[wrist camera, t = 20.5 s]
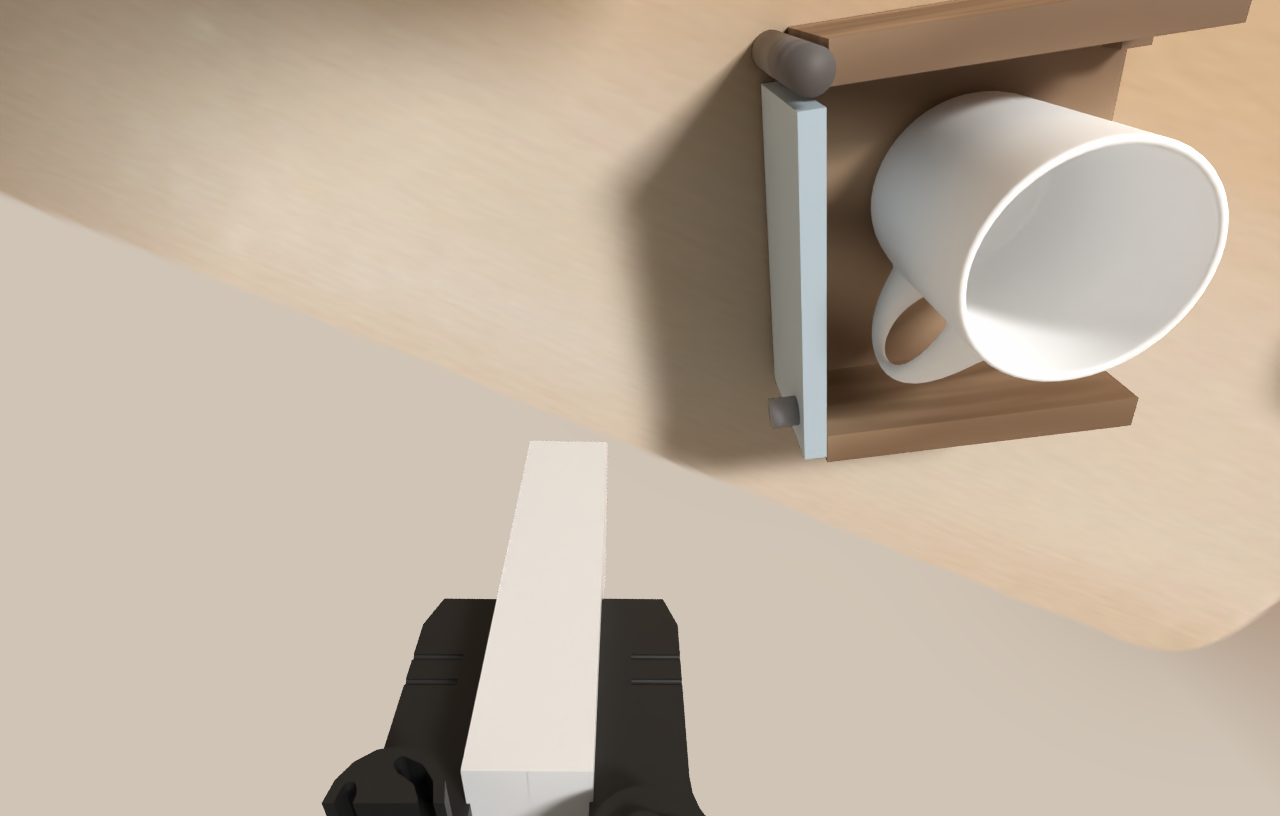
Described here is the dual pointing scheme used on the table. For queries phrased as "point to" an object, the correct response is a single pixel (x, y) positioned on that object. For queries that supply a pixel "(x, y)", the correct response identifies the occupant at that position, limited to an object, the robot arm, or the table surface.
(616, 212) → the table surface
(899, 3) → the table surface
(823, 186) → the door
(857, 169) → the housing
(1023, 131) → the mug
